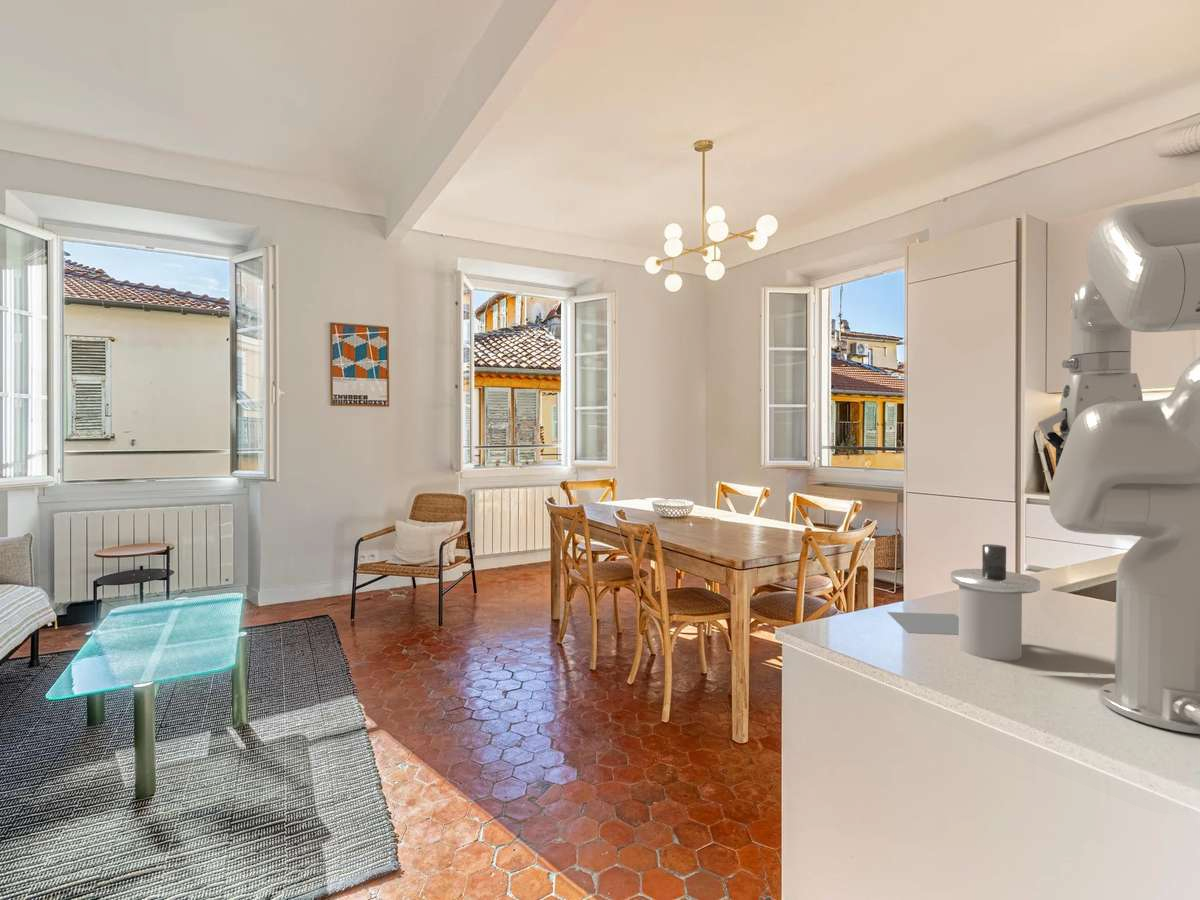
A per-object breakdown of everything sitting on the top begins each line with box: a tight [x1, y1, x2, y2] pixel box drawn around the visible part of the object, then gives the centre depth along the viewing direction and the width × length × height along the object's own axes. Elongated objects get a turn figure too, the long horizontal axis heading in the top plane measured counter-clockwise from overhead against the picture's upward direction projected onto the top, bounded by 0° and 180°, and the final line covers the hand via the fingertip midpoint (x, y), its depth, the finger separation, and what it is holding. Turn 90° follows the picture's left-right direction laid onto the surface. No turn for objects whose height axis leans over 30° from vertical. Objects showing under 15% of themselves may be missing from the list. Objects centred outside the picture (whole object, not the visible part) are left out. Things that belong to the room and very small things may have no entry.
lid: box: [950, 543, 1041, 594], centre depth 99 cm, size 12×12×6 cm
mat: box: [887, 611, 959, 636], centre depth 112 cm, size 12×12×1 cm
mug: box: [957, 585, 1023, 661], centre depth 99 cm, size 12×8×11 cm
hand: (1098, 473), depth 99 cm, fingers open, 9 cm apart
